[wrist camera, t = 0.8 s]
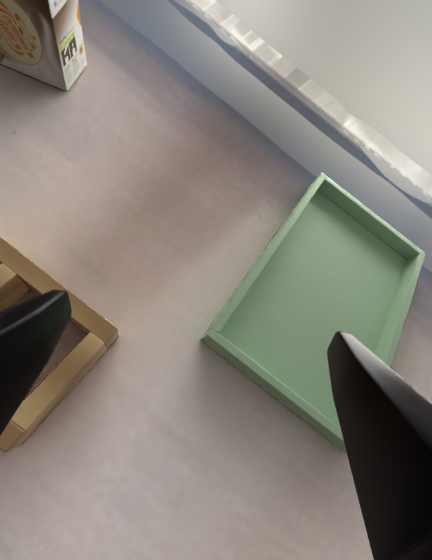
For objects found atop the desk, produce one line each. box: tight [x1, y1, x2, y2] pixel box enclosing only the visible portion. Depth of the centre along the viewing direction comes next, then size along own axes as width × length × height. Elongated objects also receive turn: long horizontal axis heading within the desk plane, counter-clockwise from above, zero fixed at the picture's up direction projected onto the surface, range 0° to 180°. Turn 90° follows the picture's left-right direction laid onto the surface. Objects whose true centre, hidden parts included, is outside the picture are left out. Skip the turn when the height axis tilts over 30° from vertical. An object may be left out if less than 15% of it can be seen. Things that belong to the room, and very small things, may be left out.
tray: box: [201, 173, 425, 453], centre depth 32 cm, size 28×18×2 cm, turn 145°
